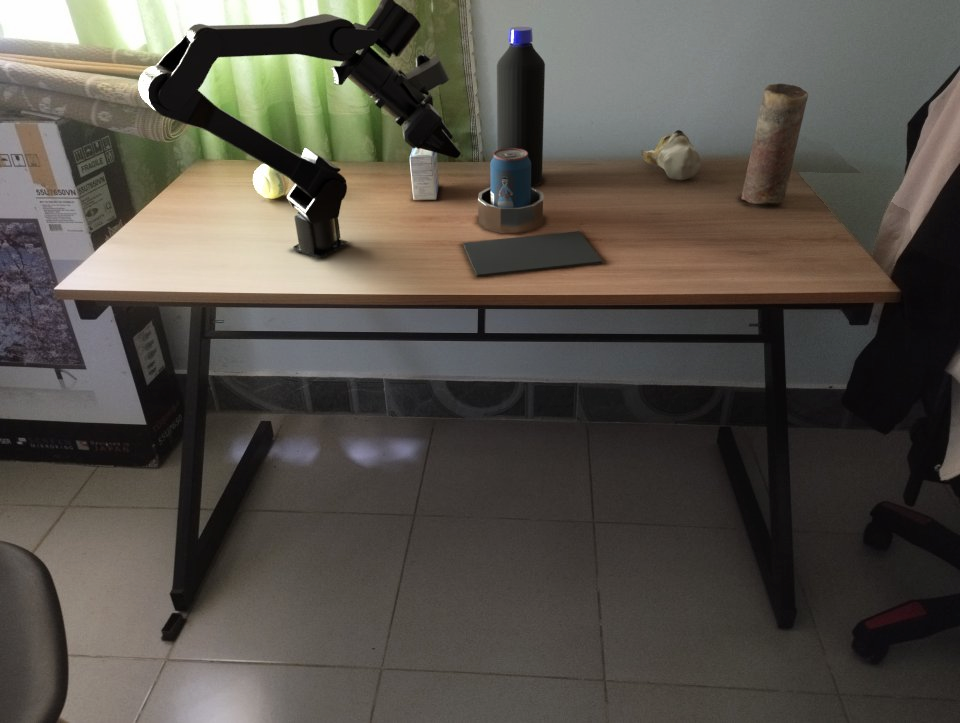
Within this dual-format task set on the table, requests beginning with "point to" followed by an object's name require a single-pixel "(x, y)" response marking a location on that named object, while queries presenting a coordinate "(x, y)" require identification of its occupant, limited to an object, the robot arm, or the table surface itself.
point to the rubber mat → (530, 253)
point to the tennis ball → (270, 182)
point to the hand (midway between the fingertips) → (454, 147)
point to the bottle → (521, 99)
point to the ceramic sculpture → (675, 156)
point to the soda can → (510, 178)
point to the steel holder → (510, 214)
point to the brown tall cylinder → (774, 144)
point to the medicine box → (424, 174)
